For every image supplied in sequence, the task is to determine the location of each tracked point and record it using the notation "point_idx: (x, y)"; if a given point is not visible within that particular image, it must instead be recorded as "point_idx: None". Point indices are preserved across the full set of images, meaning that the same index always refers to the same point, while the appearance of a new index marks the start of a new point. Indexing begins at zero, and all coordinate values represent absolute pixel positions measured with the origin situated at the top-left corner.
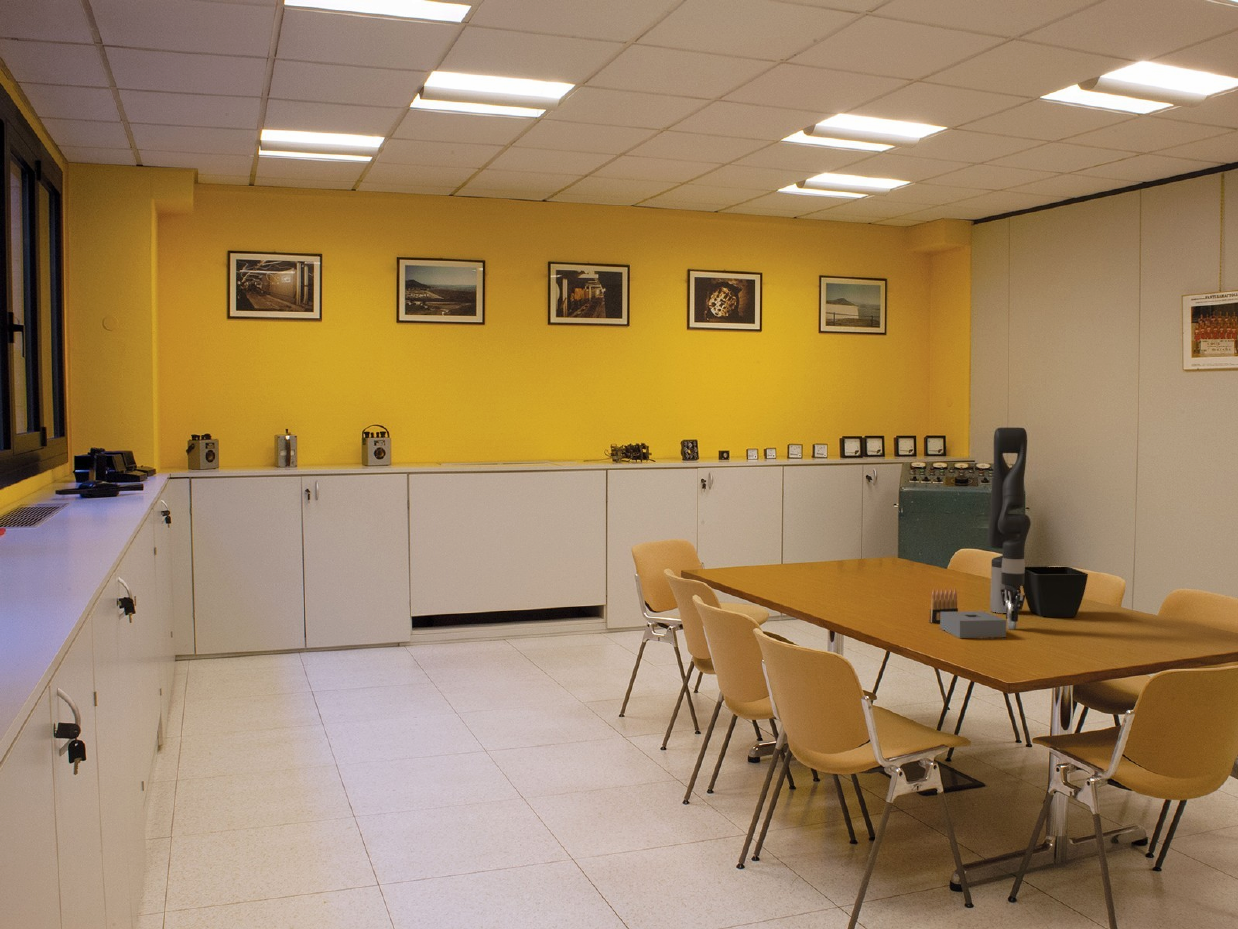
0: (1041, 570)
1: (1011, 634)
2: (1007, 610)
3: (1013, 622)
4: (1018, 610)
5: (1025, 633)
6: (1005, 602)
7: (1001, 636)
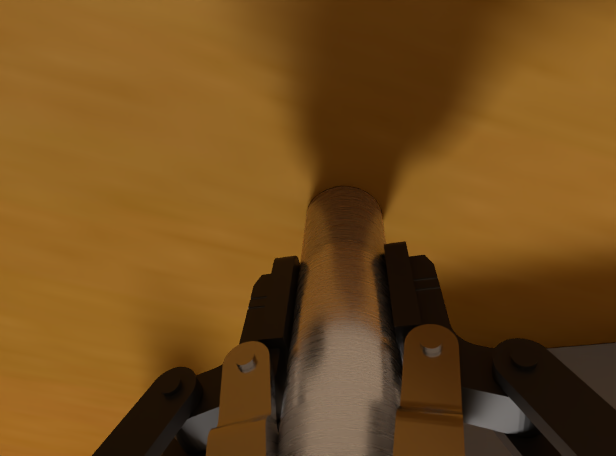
0: None
1: (557, 273)
2: None
3: None
4: (469, 344)
5: (537, 158)
6: (200, 451)
7: None
